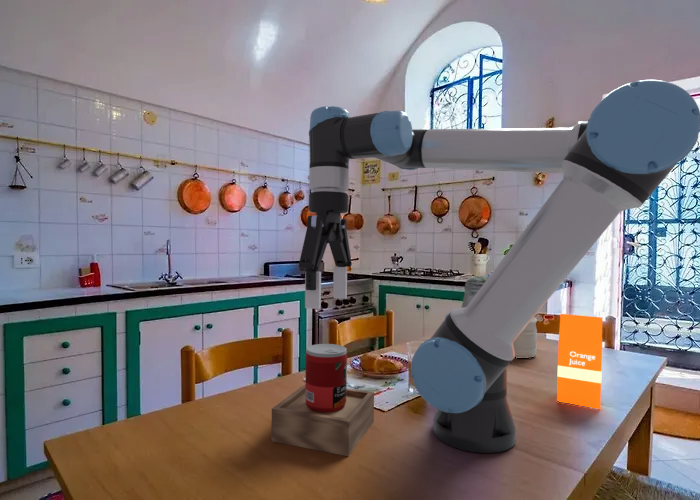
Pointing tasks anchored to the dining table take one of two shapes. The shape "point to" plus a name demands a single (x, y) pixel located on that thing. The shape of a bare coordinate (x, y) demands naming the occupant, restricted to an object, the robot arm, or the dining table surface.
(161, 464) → the dining table surface
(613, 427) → the dining table surface
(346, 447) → the box
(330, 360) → the canned food
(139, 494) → the dining table surface
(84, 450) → the dining table surface
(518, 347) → the jar
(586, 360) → the orange juice
